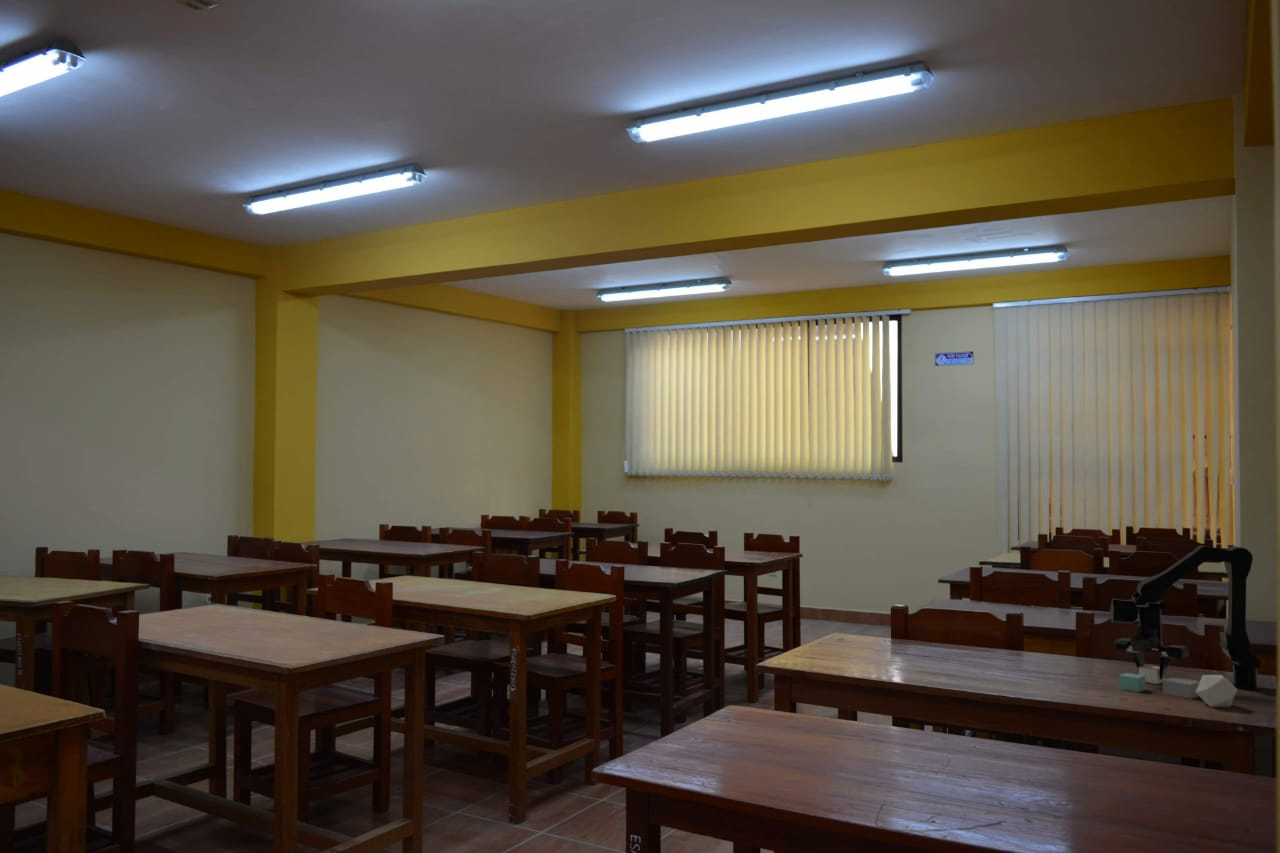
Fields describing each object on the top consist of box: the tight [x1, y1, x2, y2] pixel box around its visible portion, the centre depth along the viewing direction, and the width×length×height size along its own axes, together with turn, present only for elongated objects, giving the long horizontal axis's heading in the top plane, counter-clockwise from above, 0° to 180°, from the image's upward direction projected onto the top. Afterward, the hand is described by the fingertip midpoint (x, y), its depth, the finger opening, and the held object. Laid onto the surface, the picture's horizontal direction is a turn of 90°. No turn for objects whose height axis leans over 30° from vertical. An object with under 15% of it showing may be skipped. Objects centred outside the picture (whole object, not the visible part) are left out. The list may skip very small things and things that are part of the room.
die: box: [1196, 674, 1239, 708], centre depth 242 cm, size 8×9×10 cm
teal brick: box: [1118, 672, 1147, 693], centre depth 260 cm, size 5×5×4 cm
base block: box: [1162, 676, 1200, 700], centre depth 254 cm, size 7×7×4 cm
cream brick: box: [1138, 664, 1165, 685], centre depth 270 cm, size 5×5×4 cm
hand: (1151, 677), depth 270 cm, fingers closed on cream brick, 5 cm apart
